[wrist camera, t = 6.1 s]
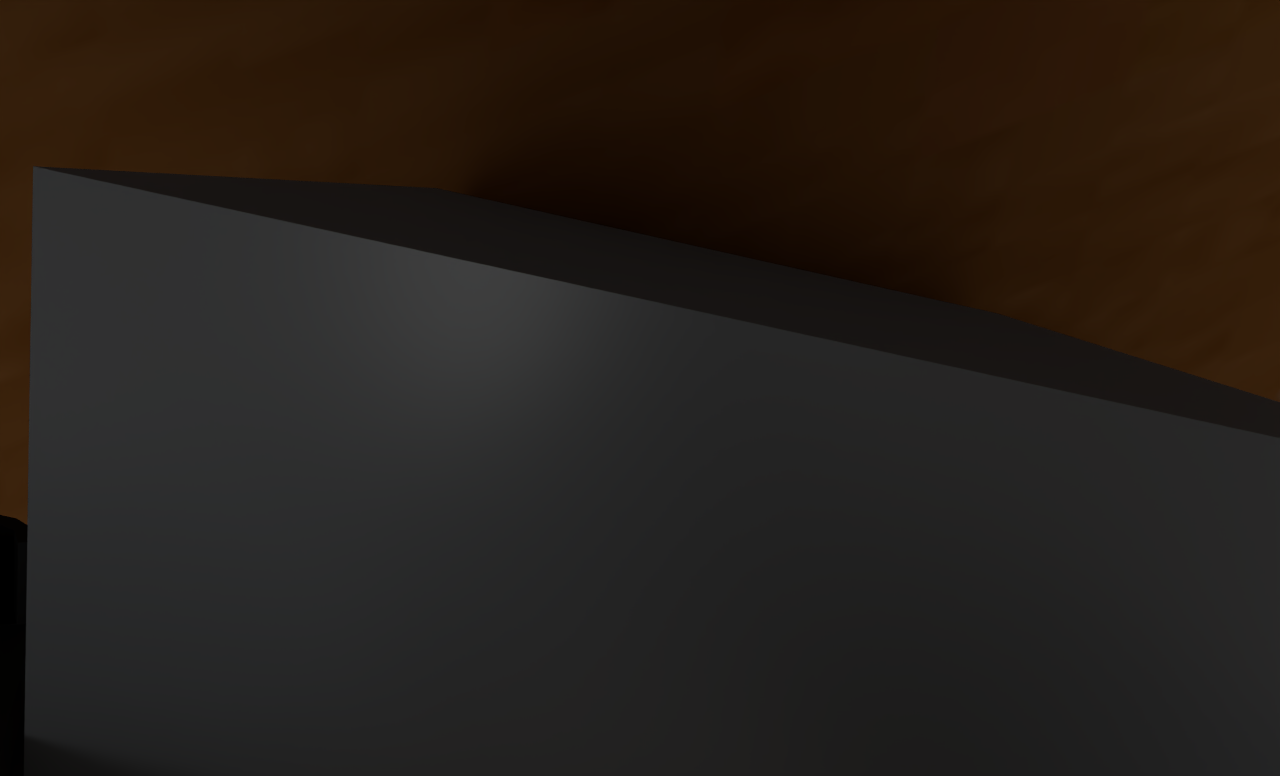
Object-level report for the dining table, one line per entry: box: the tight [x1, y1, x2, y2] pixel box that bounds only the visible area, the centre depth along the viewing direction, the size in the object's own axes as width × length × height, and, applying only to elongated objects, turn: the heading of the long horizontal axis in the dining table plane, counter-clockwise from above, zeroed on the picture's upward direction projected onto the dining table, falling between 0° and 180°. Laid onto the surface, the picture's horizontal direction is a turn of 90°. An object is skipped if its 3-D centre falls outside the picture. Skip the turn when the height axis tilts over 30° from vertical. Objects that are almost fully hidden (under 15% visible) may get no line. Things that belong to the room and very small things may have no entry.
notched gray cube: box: [24, 166, 1280, 776], centre depth 10 cm, size 10×10×9 cm
